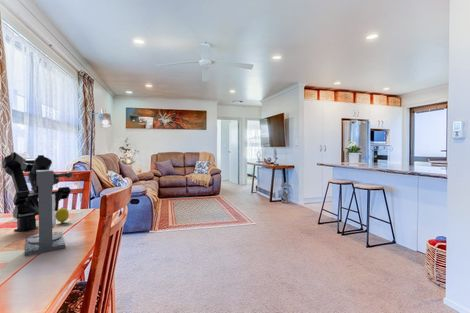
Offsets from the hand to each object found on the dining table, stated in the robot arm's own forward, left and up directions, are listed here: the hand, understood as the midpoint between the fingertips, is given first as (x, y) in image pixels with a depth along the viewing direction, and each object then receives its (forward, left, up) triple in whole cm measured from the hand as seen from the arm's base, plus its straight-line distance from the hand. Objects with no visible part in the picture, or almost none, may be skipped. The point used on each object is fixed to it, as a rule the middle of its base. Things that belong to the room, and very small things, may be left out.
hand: (49, 211), depth 103 cm
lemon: (-16, +25, -13) cm, 32 cm away
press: (+2, -2, -12) cm, 13 cm away
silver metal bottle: (-1, +1, -7) cm, 7 cm away
